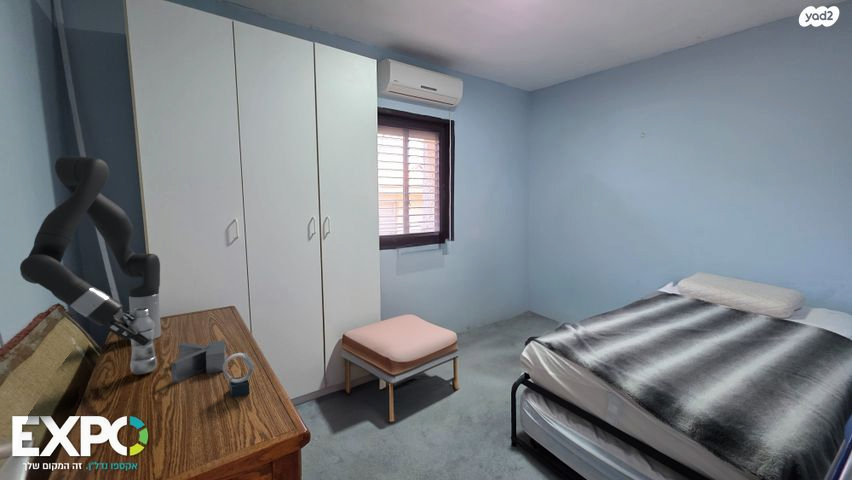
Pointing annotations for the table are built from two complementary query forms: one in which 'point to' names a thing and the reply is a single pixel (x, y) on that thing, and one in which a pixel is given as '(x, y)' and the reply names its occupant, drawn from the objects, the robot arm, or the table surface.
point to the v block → (198, 359)
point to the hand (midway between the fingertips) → (149, 339)
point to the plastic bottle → (141, 355)
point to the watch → (239, 384)
